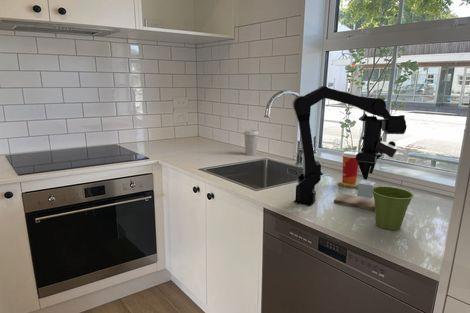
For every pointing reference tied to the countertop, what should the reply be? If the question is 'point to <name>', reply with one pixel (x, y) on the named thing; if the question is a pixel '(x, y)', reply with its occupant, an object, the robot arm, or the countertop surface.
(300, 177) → the robot arm
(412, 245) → the countertop surface
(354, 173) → the paper cup
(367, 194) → the white cube with hole
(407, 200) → the plant pot
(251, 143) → the coffee cup
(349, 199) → the cord clamp board
